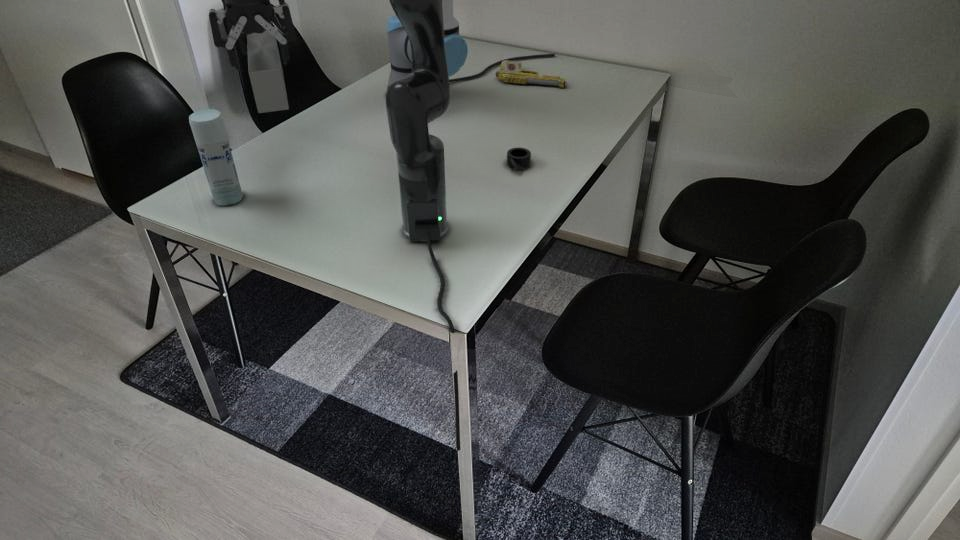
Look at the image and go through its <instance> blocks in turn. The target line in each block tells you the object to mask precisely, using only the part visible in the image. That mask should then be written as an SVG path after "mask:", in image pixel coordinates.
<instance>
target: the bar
mask: <svg viewBox="0 0 960 540" xmlns="http://www.w3.org/2000/svg"><path fill="white" fill-rule="evenodd" d="M246 37H247V48H248V55H247V66H248V68H247V69H248V76H249V80H250V84H251V89H252V93H253V98H254V100H255V105H256V110H257V113H258V114H263V113H271V112H279V111H287V110H290V106H289V99H288V94H287V89H286V88H287V87H286V82H285V75H284V69H283V67H282V65H281V60H280V55H279V50H278V45H277V40H276V38H275V37H273V36H272V35H271V34H270V33H269V32H268V31H267V30H266V31H265V32H263V33H252V34H248V35H246Z"/></svg>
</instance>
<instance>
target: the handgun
mask: <svg viewBox="0 0 960 540" xmlns="http://www.w3.org/2000/svg"><path fill="white" fill-rule="evenodd" d="M503 60H504V61H503V62H502V63H501V64H499V68H500V70H496V72H495V73H494V75H495V77H496V78H497V79H498V80H500V81H502V82H504V83H511V84H522V85H526V84H532V85H541V86H551V87H552V86H553V87H557V88H562V89H563V88H564V87H565V88H566V87H567V81H566V77H565V78H563V77H561V76H560V75H548V74H547V75H546V74H539V72H538V71H534V70H526V69H523V68H522V65H523V64H522V63H521V61H518V60H512V61H508V60H505V59H503Z"/></svg>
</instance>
